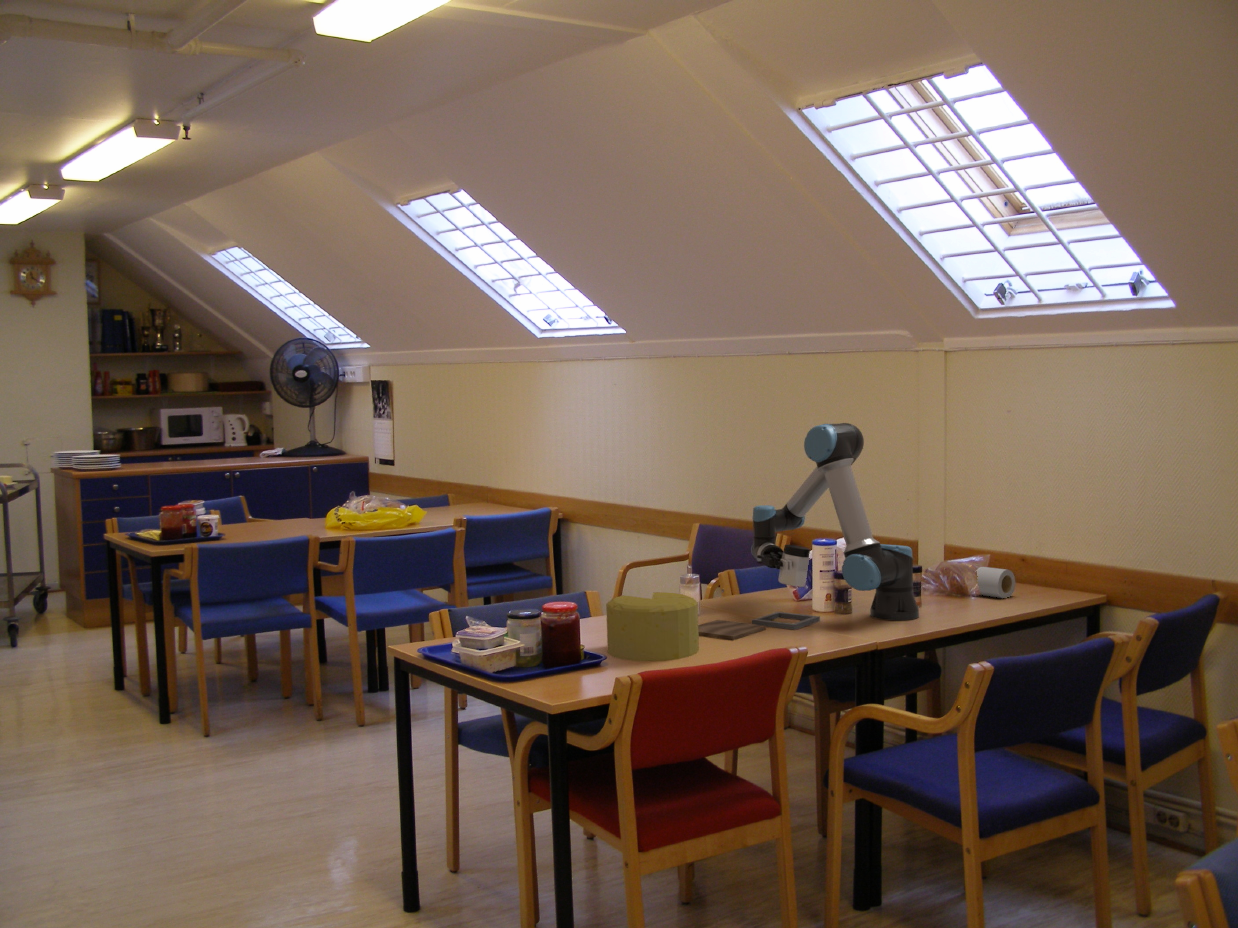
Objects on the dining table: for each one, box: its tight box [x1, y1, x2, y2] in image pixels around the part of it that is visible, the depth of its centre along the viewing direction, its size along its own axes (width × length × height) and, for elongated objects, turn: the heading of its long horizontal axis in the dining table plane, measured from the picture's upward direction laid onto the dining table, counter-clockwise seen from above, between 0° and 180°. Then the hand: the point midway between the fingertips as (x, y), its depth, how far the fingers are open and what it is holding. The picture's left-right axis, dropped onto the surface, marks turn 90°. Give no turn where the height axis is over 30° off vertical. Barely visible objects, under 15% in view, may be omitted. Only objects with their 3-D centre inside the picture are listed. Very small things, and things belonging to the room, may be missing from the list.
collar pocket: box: [751, 611, 821, 631], centre depth 345 cm, size 16×16×2 cm
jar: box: [778, 544, 811, 588], centre depth 347 cm, size 9×8×12 cm
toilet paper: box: [975, 566, 1016, 599], centre depth 379 cm, size 10×10×10 cm
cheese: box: [605, 591, 700, 662], centre depth 312 cm, size 26×26×15 cm
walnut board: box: [698, 619, 767, 641], centre depth 335 cm, size 18×18×1 cm
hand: (788, 565), depth 339 cm, fingers closed on jar
